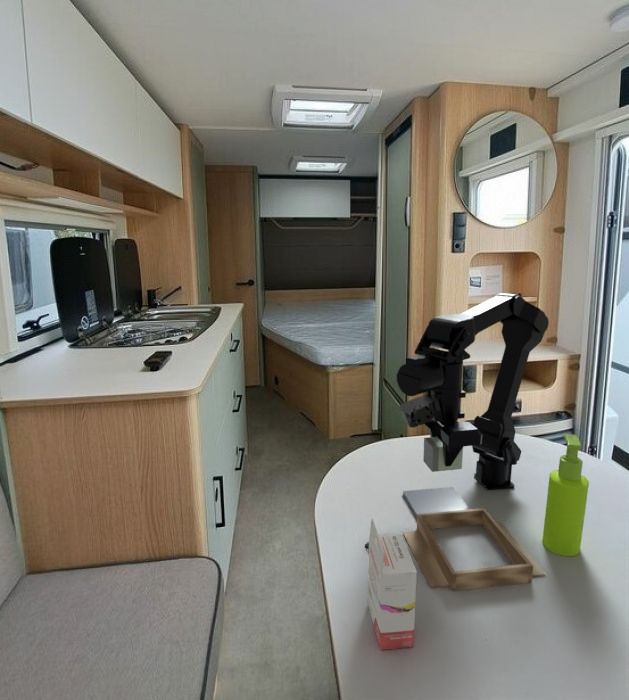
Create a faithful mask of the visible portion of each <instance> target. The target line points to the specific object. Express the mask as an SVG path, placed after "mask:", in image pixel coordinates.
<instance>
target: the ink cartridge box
mask: <svg viewBox="0 0 629 700" xmlns="http://www.w3.org/2000/svg"><path fill="white" fill-rule="evenodd" d="M368 538H369V539H368V542H369V553H368V581H367V582H368V583H367V585H368V587H367V605H368V608H369V613H370V617H371V619H372V621H371V622H372V624H373V627H374V631H375V634H376V638H377V642H378V646H379V650H380V651H381V650H390V649H391V650H392V649H401V648H402V649H405V648H406V649H407V648H414V647H415V646H414V644H415V619H416V594H417V578H418V577H417V576H418V575H417V574H418V571H417V569H416V566H415V564H414V561H413V559H412V557H411V554H410V551H409V549H408V546H407V545H406V543H405V539H404V538H403V535H402V533H390V534H389V533H387V534H379V532H378V529H377V527H376V523H375V521H374V519H373V518H371V521H370V529H369V537H368Z"/></svg>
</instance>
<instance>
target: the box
mask: <svg viewBox="0 0 629 700" xmlns="http://www.w3.org/2000/svg"><path fill="white" fill-rule="evenodd" d="M463 453H464V447H463V448H462V450H461V451H460V453H459V454H458V456H457V457H456V459H455V460H454V462H453V463H452V465H451V466H445V462H444V454H443V443H442V442H441V441H440V440H439V439H438V438H437V437H429V436H428V437H423V459H422V460H423V463H424V464H425V465H426V467H427V468H428V469H429V470H430V471H431V472H432V473H434V472H444V471H453V470H454V471H455V470H462V469H463Z"/></svg>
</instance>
